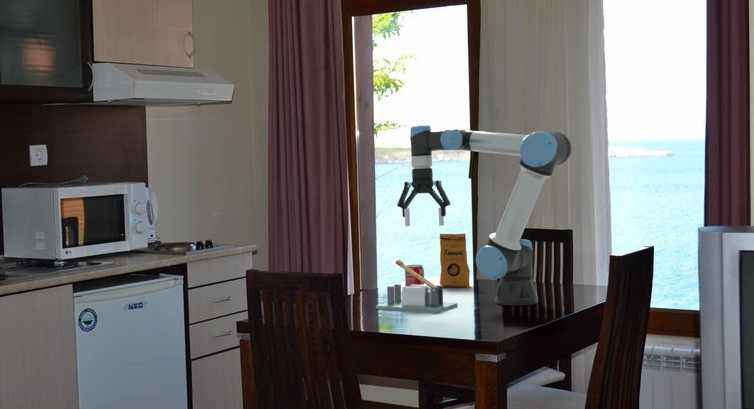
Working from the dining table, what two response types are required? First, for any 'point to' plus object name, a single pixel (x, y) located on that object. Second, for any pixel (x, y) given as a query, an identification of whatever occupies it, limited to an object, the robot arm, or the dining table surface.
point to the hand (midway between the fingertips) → (424, 225)
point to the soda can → (412, 279)
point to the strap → (414, 273)
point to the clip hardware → (396, 293)
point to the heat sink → (416, 295)
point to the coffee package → (453, 261)
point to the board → (398, 307)
